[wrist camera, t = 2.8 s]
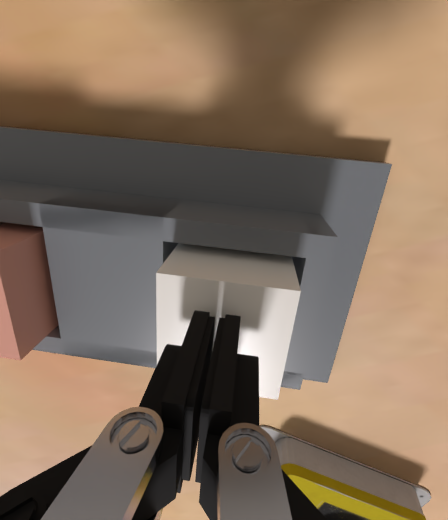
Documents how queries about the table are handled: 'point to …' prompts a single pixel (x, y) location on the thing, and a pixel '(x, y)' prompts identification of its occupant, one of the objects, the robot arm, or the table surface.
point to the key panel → (185, 232)
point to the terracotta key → (24, 290)
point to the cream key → (231, 302)
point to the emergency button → (347, 483)
